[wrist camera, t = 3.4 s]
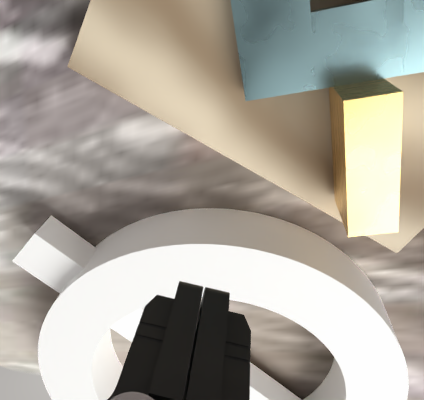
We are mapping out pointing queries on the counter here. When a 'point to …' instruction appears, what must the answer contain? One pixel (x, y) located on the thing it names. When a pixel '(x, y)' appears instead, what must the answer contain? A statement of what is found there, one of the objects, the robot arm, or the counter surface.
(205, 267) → the white circle with bar
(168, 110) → the base board
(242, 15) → the t-shaped piece
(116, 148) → the counter surface
